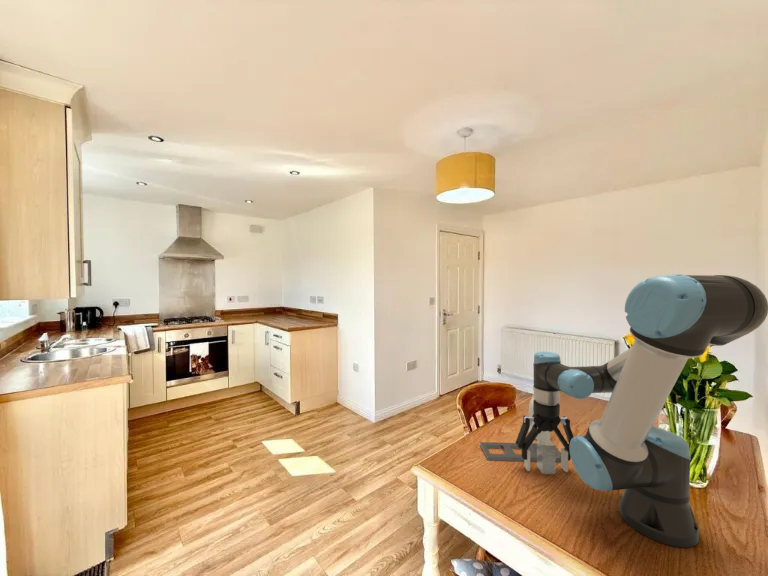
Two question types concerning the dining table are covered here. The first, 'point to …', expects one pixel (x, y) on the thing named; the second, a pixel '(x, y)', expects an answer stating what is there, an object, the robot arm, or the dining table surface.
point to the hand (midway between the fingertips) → (545, 469)
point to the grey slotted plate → (511, 452)
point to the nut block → (546, 456)
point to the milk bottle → (543, 433)
